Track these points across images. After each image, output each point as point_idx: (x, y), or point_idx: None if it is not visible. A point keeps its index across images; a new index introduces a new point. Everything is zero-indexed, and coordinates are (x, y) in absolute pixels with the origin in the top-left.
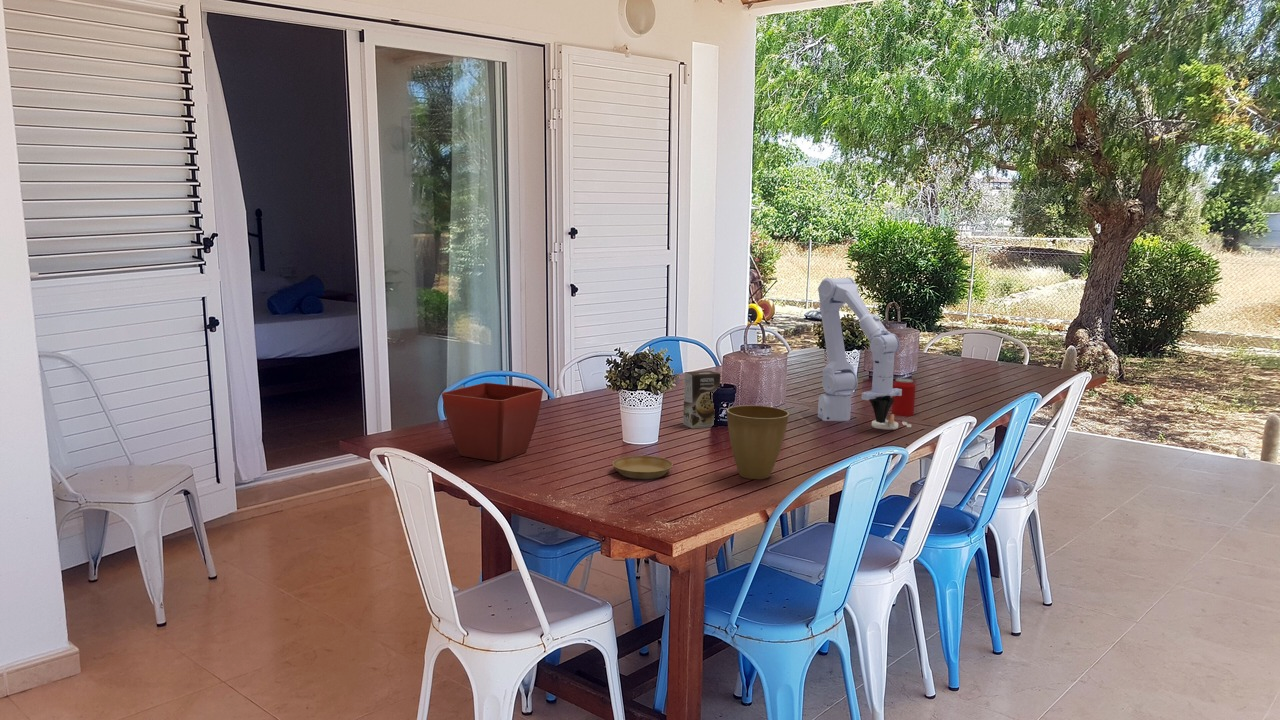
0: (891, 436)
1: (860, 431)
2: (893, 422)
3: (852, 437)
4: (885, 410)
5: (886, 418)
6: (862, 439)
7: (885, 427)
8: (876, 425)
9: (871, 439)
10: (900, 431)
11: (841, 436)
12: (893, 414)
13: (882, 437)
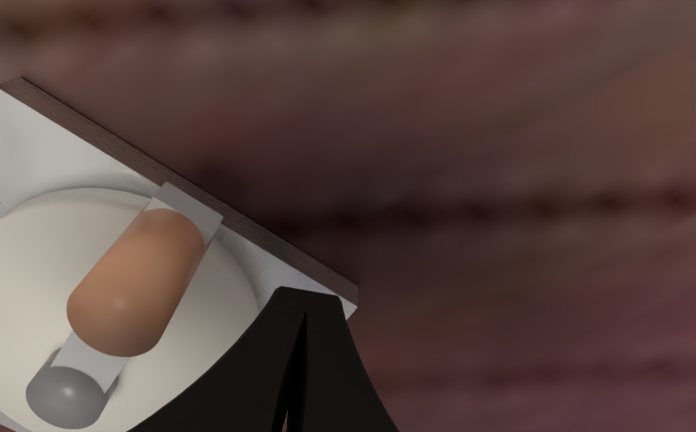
0: (294, 115)
1: None
2: (154, 215)
3: (638, 341)
4: (277, 403)
5: (28, 388)
6: (660, 244)
7: (221, 263)
8: None
9: (597, 185)
10: None
11: (663, 413)
12: (86, 297)
13: (419, 156)
